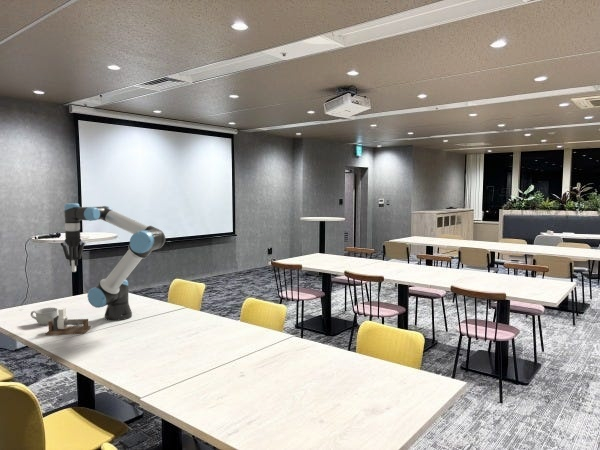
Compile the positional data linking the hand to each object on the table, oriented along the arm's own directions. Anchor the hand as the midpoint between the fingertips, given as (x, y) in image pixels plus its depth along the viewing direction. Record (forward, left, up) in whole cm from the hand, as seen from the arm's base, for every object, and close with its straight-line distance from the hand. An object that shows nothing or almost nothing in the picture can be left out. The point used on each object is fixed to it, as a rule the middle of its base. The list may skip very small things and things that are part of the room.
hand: (74, 271), depth 245 cm
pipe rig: (-3, +18, -29) cm, 34 cm away
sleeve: (0, +18, -27) cm, 33 cm away
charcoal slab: (+2, +18, -28) cm, 33 cm away
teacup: (+16, +2, -30) cm, 34 cm away
